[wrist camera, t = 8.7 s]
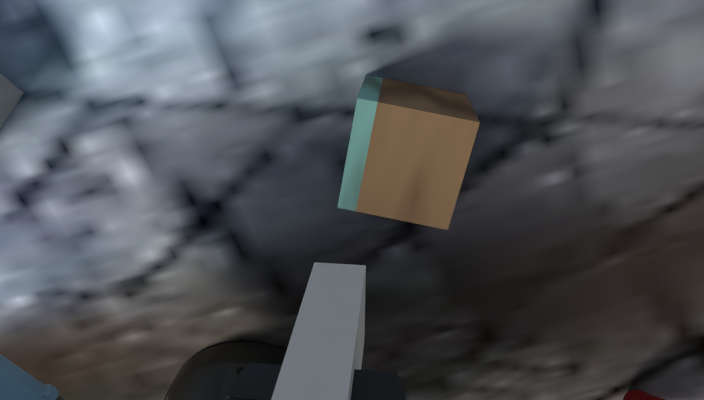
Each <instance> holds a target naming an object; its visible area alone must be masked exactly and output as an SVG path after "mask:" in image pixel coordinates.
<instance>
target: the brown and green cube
mask: <svg viewBox="0 0 704 400" xmlns="http://www.w3.org/2000/svg"><path fill="white" fill-rule="evenodd" d="M479 124H480V121H479V119H478V117H477V115H476V113H475V111H474V109H473V107H472V105H471V103H470V101H469V99H468V97H467V95H466V94H461V93H456V92H451V91H446V90H441V89H436V88H431V87H426V86H421V85H416V84H411V83H406V82H401V81H396V80H391V79H386V78H381V77H376V76H371V75H366V77H365V79H364V82H363V84H362V87H361V90H360V92H359V95H358V97H357V102H356V108H355V113H354V119H353V124H352V130H351V135H350V141H349V146H348V152H347V157H346V163H345V168H344V174H343V179H342V185H341V190H340V196H339V201H338V207H337V208H342V209H347V210H351V211H356V212H361V213H366V214H371V215H376V216H381V217H386V218H391V219H396V220H401V221H406V222H411V223H416V224H421V225H425V226H430V227H435V228H440V229H445V230H448V228H449V224H450V221H451V218H452V214H453V211H454V208H455V204H456V201H457V198H458V194H459V191H460V188H461V184H462V181H463V178H464V174H465V171H466V168H467V164H468V161H469V158H470V154H471V151H472V148H473V144H474V141H475V138H476V134H477V131H478V128H479Z"/></svg>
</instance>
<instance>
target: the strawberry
mask: <svg viewBox="0 0 704 400" xmlns="http://www.w3.org/2000/svg"><path fill="white" fill-rule="evenodd" d="M623 400H665V399H662V398H658V397H655V396H652V395H650V394H648V393H646V392H643V391H640V390H631V391H629V392H627V393H626V394H625V396H624V399H623Z"/></svg>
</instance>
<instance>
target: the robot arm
mask: <svg viewBox="0 0 704 400" xmlns="http://www.w3.org/2000/svg"><path fill="white" fill-rule="evenodd" d="M365 285H366V265H351V264H333V263H316V262H314V265H313V268H312V272H311V275H310V278H309V281H308V284H307V287H306V291H305V294H304V297H303V300H302V303H301V306H300V310H299V313H298V316H297V319H296V322H295V325H294V329H293V332H292V335H291V338H290V341H289V345H288V348H287V350H285V349H282V348H279V347H275V346H271V345H267V344H261V343H253V342H233V343H225V344H220V345H216V346H213V347H210V348H207V349H205V350H203V351H201V352H199V353H197V354H196V355H194V356H193V357H191V358H190V359H189V360H188V361H187V362H186V363H185V364H184V365H183V366H182V368H181V369H180V370H179V372H178V374H177V375H176V377H175V379H174V381H173V383H172V384H171V386H170V388H169V390H168V392H167V394H166V396H165V399H164V400H406V390H405V388H404V386H403V384H402V382H401V380H400V378H399V376H398V374H397V372H384V371H371V370H361V366H362V357H363V348H364V338H365ZM0 400H64V399H63V398H61V397H60V396H59V392H58V391H57V389H56V388H55V387H54V386H53V385H50V384H43V383H41V382H40V381H38V380H37V379H35V378H34V377H32V376H31V375H29V374H28V373H27V372H25V371H24V370H22V369H21V368H19V367H18V366H16V365H15V364H14V363H12V362H11V361H9V360H8V359H6V358H5V357H3V356H1V355H0Z"/></svg>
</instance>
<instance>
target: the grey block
mask: <svg viewBox="0 0 704 400" xmlns="http://www.w3.org/2000/svg"><path fill="white" fill-rule="evenodd" d="M23 94H24V93H23V92H22V91H21V90H20V89H19V88H17V87H16V86H15V85H14V84H13V83H11V82H10V81H9V80H8V79H7V78H6V77H4V76H3V75H2V74H1V73H0V128H1V126H2V125H3V124H4V122H5V121H6V119H7V118H8V116H9V115H10V113H11V112H12V110H13V109H14V107H15V106H16V104H17V103H18V101H19V100H20V99H21V97H22V96H23Z"/></svg>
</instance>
